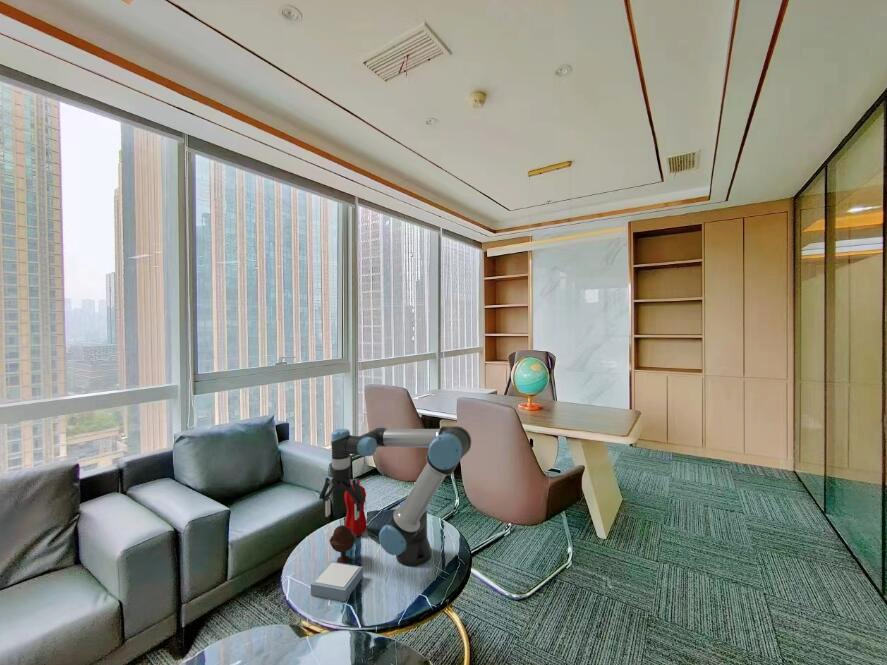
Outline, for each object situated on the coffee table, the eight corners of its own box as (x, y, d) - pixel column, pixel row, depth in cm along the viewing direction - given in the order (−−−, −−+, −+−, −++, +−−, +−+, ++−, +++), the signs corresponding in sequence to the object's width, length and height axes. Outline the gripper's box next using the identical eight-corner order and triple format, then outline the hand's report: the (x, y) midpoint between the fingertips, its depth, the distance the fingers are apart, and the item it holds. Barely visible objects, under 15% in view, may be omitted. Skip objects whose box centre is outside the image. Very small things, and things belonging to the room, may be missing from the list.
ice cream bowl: (357, 565, 158) (357, 529, 158) (329, 570, 155) (329, 533, 155) (356, 550, 168) (355, 517, 168) (329, 555, 165) (329, 520, 165)
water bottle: (360, 539, 178) (359, 485, 177) (341, 534, 182) (341, 481, 182) (372, 529, 186) (371, 478, 186) (354, 525, 191) (353, 475, 190)
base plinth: (362, 576, 151) (362, 565, 151) (345, 601, 137) (344, 589, 137) (331, 571, 154) (331, 560, 154) (310, 594, 141) (310, 583, 140)
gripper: (372, 465, 162) (373, 515, 162) (319, 461, 168) (321, 509, 168) (364, 472, 154) (365, 524, 155) (310, 467, 161) (311, 518, 161)
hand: (342, 516), depth 161 cm, fingers open, 13 cm apart
